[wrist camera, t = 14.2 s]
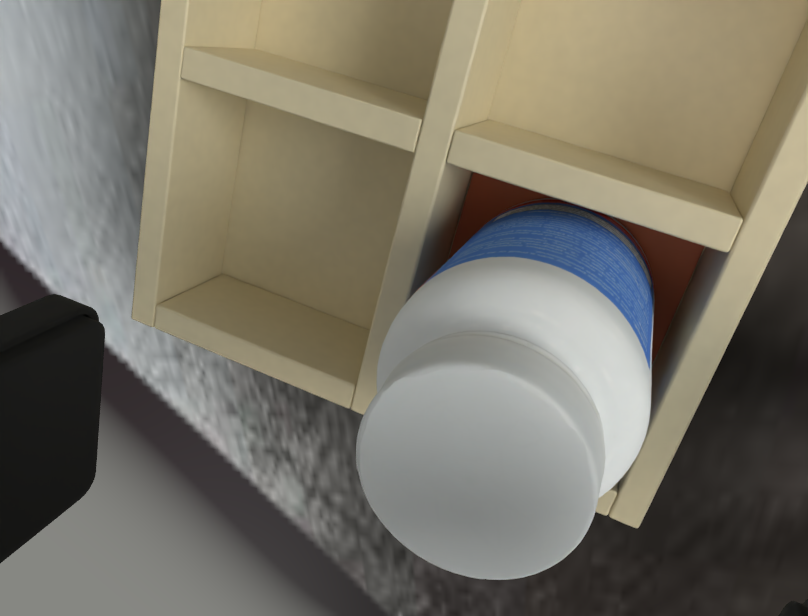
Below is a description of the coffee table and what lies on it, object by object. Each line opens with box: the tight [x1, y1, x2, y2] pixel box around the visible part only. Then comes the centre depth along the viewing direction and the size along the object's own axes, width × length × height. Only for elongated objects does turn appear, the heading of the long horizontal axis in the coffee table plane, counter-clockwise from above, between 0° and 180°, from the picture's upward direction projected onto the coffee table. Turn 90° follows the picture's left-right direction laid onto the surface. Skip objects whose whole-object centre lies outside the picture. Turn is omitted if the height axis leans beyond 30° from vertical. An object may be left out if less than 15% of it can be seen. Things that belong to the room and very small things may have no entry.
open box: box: [132, 0, 808, 528], centre depth 18 cm, size 15×15×4 cm
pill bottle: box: [356, 198, 655, 580], centre depth 15 cm, size 6×5×10 cm
